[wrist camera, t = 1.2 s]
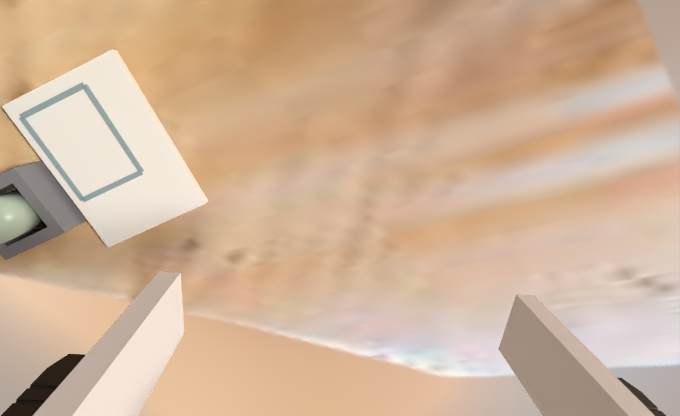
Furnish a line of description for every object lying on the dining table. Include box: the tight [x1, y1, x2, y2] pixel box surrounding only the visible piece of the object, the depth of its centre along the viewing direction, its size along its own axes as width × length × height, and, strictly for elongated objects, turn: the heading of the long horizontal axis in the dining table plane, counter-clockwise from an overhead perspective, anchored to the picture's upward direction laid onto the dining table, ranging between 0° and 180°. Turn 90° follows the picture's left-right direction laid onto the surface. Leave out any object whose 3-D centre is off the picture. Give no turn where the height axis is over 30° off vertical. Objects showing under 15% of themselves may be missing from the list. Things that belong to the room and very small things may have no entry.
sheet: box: [2, 50, 208, 248], centre depth 34 cm, size 16×12×1 cm
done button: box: [0, 190, 44, 244], centre depth 32 cm, size 4×4×4 cm
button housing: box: [0, 161, 87, 260], centre depth 34 cm, size 7×7×4 cm
